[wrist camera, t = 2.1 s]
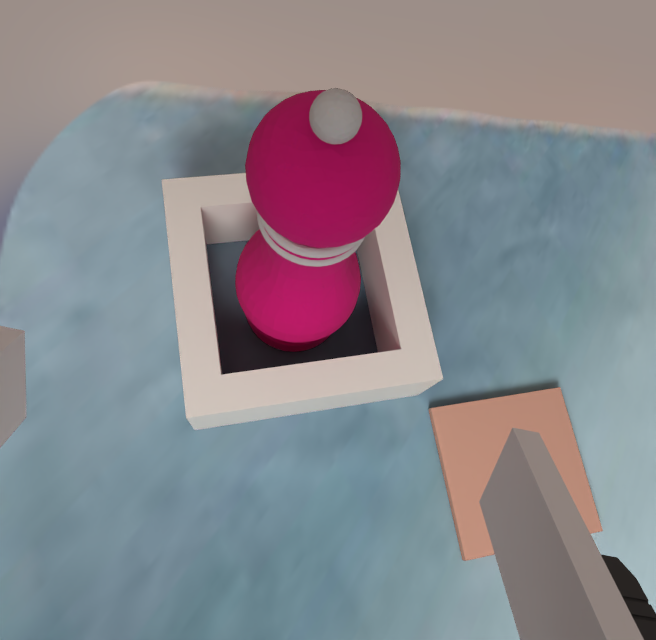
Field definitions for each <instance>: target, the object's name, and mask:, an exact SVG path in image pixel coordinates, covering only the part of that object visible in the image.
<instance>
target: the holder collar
mask: <svg viewBox="0 0 656 640" xmlns="http://www.w3.org/2000/svg"><path fill="white" fill-rule="evenodd" d="M162 186H163V196H164V206H165V215H166V225H167V235H168V245H169V254H170V264H171V274H172V283H173V293H174V303H175V313H176V322H177V332H178V342H179V352H180V361H181V371H182V381H183V390H184V400H185V410H186V418H187V420H188V421H189V423H190V424H191V425H192V427H193V428H194V430H200V429H206V428H213V427H219V426H225V425H232V424H238V423H244V422H251V421H257V420H263V419H270V418H276V417H283V416H289V415H295V414H302V413H308V412H314V411H321V410H327V409H333V408H340V407H346V406H352V405H359V404H365V403H371V402H378V401H384V400H391V399H397V398H403V397H410V396H416V395H419V394H420V393H422V392H423V391H425V390H427V389H428V388H430V387H431V386H433V385H434V384H436V383H437V382H439V381H441V380H442V379H443V376H442V372H441V368H440V364H439V359H438V355H437V351H436V347H435V343H434V338H433V334H432V330H431V326H430V321H429V317H428V313H427V309H426V305H425V300H424V296H423V292H422V288H421V284H420V279H419V275H418V271H417V267H416V263H415V258H414V254H413V250H412V246H411V241H410V237H409V233H408V229H407V225H406V220H405V216H404V212H403V208H402V204H401V199H400V195H399V191H397V195H396V198H395V201H394V204H393V205H392V207H391V209H390V211H389V212H388V214H387V215H386V217H385V218H384V220H383V221H382V222H381V224H380V225H379V226H378V227H377V228H375V229H374V230H373V231H371V232H370V233H369V234H368V235H366V236H365V238H364V240H363V241H362V243H361V245H360V246H359V247H358V249H357V254H358V258H359V263H360V268H361V273H362V278H363V283H364V287H365V292H366V297H367V302H368V307H369V312H370V316H371V321H372V326H373V331H374V336H375V341H376V345H377V350H378V353H371V354H364V355H357V356H350V357H343V358H336V359H329V360H322V361H315V362H308V363H301V364H293V365H286V366H279V367H272V368H265V369H258V370H251V371H244V372H237V373H230V374H222V366H221V358H220V350H219V342H218V334H217V326H216V318H215V310H214V302H213V294H212V286H211V277H210V269H209V261H208V253H207V245H206V244H216V243H226V242H236V241H246V240H250V238H251V237H252V236H253V235H254V233H255V232H256V231H258V230H259V229H260V228H259V225H258V220H257V210H256V208H255V206H254V205H253V203H252V201H251V197H250V193H249V190H248V186H247V182H246V173H239V174H227V175H214V176H201V177H188V178H176V179H163V180H162Z"/></svg>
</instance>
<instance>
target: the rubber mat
mask: <svg viewBox="0 0 656 640" xmlns="http://www.w3.org/2000/svg"><path fill="white" fill-rule="evenodd" d="M429 414H430V418H431V423H432V427H433V431H434V436H435V440H436V445H437V449H438V454H439V458H440V462H441V467H442V471H443V476H444V480H445V484H446V489H447V493H448V498H449V502H450V507H451V511H452V515H453V520H454V524H455V529H456V533H457V537H458V542H459V546H460V551H461V555H462V560H465V561H466V560H471V559H476V558H480V557H485V556H489V555H494V554H495V553H494V550H493V546H492V543H491V540H490V536H489V533H488V530H487V526H486V523H485V520H484V516H483V513H482V510H481V506H480V503H479V501H480V499H481V497H482V494H483V492H484V490H485V488H486V485H487V483H488V481H489V479H490V476H491V474H492V472H493V470H494V468H495V465H496V463H497V461H498V459H499V456H500V454H501V452H502V450H503V447H504V445H505V443H506V441H507V439H508V436H509V434H510V432H511V430H512V427H513V428H518V429H523V430H528V431H533V432H538V433H539V434H540V436H541V438H542V439H543V441H544V443H545V445H546V447H547V449H548V451H549V453H550V455H551V457H552V459H553V461H554V463H555V465H556V467H557V469H558V471H559V473H560V475H561V477H562V479H563V481H564V483H565V485H566V487H567V489H568V491H569V493H570V495H571V497H572V499H573V501H574V503H575V505H576V507H577V509H578V511H579V513H580V515H581V517H582V519H583V520H584V522H585V524H586V526H587V528H588V530H589V532H590V534H591V533H596V532H600V531H603V530H602V527H601V523H600V520H599V517H598V513H597V510H596V506H595V503H594V500H593V496H592V493H591V490H590V486H589V483H588V480H587V476H586V473H585V469H584V466H583V463H582V459H581V456H580V453H579V449H578V446H577V442H576V439H575V436H574V432H573V429H572V426H571V422H570V419H569V415H568V412H567V409H566V405H565V402H564V399H563V395H562V392H561V388H560V387H558V388H552V389H546V390H540V391H534V392H528V393H521V394H515V395H509V396H503V397H497V398H491V399H485V400H478V401H472V402H466V403H460V404H454V405H448V406H441V407H435V408H430V409H429Z"/></svg>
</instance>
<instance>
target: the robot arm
mask: <svg viewBox="0 0 656 640" xmlns="http://www.w3.org/2000/svg"><path fill="white" fill-rule="evenodd" d="M25 418H26V374H25V331H23V330H18V329H13V328H8V327H3V326H0V448H1V446H2V445H3V444H4V443H5V442H6V441H7V439H8V438H9V437H10V436H11V435H12V433H13V432H14V431H15V430H16V429H17V428H18V426H19V425H20V424H21V423H22V422H23V420H24V419H25ZM479 503H480V506H481V510H482V513H483V516H484V520H485V523H486V526H487V530H488V533H489V536H490V540H491V543H492V546H493V550H494V553H495V556H496V560H497V563H498V566H499V570H500V573H501V576H502V580H503V583H504V586H505V590H506V593H507V597H508V600H509V603H510V607H511V610H512V613H513V617H514V620H515V623H516V627H517V630H518V633H519V637H520V640H656V613H655V612H654V610H653V608H652V606H651V605H649V604H648V599H647V597H646V595H645V593H644V592H643V590H642V588H641V586H640V584H639V583H638V581H637V579H636V578H635V577H634V575H633V574H632V573H631V572H630V571H629V570H628V569H627V568H626V567H625V566H624V565H623V563H622V562H621V561H620V560H619V559H618V558H616V557H611V556H606V555H601V554H600V552H599V550H598V548H597V546H596V544H595V542H594V540H593V538H592V536H591V534H590V532H589V530H588V528H587V526H586V524H585V522H584V520H583V519H582V517H581V515H580V513H579V511H578V509H577V507H576V505H575V503H574V501H573V499H572V497H571V495H570V493H569V491H568V489H567V487H566V485H565V483H564V481H563V479H562V477H561V475H560V473H559V471H558V469H557V467H556V465H555V463H554V461H553V459H552V457H551V455H550V453H549V451H548V449H547V447H546V445H545V443H544V441H543V439H542V438H541V436H540V434H539V433H538V432H533V431H528V430H523V429H518V428H513V427H512V430H511V432H510V434H509V436H508V439H507V441H506V443H505V445H504V447H503V450H502V452H501V454H500V456H499V459H498V461H497V463H496V465H495V468H494V470H493V472H492V474H491V476H490V479H489V481H488V483H487V485H486V488H485V490H484V492H483V494H482V497H481V499H480V501H479Z"/></svg>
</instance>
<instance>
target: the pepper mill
mask: <svg viewBox="0 0 656 640" xmlns="http://www.w3.org/2000/svg"><path fill="white" fill-rule="evenodd" d="M245 168H246V182H247V186H248V190H249V193H250V197H251V201H252V203H253V205H254V206H255V208H256V210H257V220H258V225H259V228H260V229H259V230H258V231H256V232H255V233H254V235H253V236H252V237H251V238H250V240H249V241H248V242H247V244H246V245H245V247H244V249H243V251H242V253H241V255H240V258H239V261H238V265H237V271H236V280H235V286H236V293H237V297H238V300H239V303H240V306H241V308H242V310H243V311H244V313H245V315H246V318H247V321H248V323H249V325H250V327H251V329H252V330H253V332H254V333H255V334H256V335H257V336H258V338H260V339H261V340H262V341H263V342H265V343H266V344H268V345H270V346H272V347H274V348H276V349H279V350H283V351H290V352H296V351H304V350H308V349H311V348H314V347H316V346H318V345H319V344H321V343H322V342H324V341H325V340H326V339H327V338H328V337H329V336H330V335H331V334H332V333H333V332H335V331H336V330H338V329H339V328H340V327H341V326H342V325H343V324H344V323H345V322H346V321H347V320H348V318H349V317H350V315H351V314H352V312H353V310H354V308H355V306H356V302H357V299H358V295H359V292H360V284H361V276H360V269H359V263H358V260H357V256H356V253H355V251H356V250H357V249H358V247H359V246H360V245H361V243H362V241H363V240H364V238H365V236H366V235H368V234H369V233H370V232H371V231H373V230H374V229H375V228H377V227H378V226H379V225H380V224H381V222H382V221H383V220H384V218H385V217H386V215H387V214H388V212H389V211H390V209H391V207H392V205H393V204H394V201H395V198H396V195H397V191H398V187H399V182H400V157H399V151H398V147H397V144H396V141H395V138H394V136H393V134H392V132H391V131H390V129H389V127H388V125H387V123H386V122H385V121H384V120H383V119H382V118H381V117H380V116H379V114H378V113H377V112H376V111H375V110H374V109H373V108H372V107H370V106H369V105H367V104H366V103H365V102H363V101H361V100H359V99H358V98H356V97H354V95H353V94H351V93H350V92H348V91H346V90H342V89H338V88H334V89H329V90H317V91H308V92H304V93H300V94H296V95H294V96H292V97H289V98H287V99H285V100H283V101H282V102H281V103H279V104H278V105H276V106H275V107H274V108H273V109H271V110H270V111H269V112H268V113H267V114H266V115H265V116H264V118H263V119H262V120H261V122H260V123H259V125H258V126H257V128H256V130H255V131H254V133H253V135H252V138H251V141H250V144H249V148H248V153H247V159H246V164H245Z"/></svg>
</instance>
